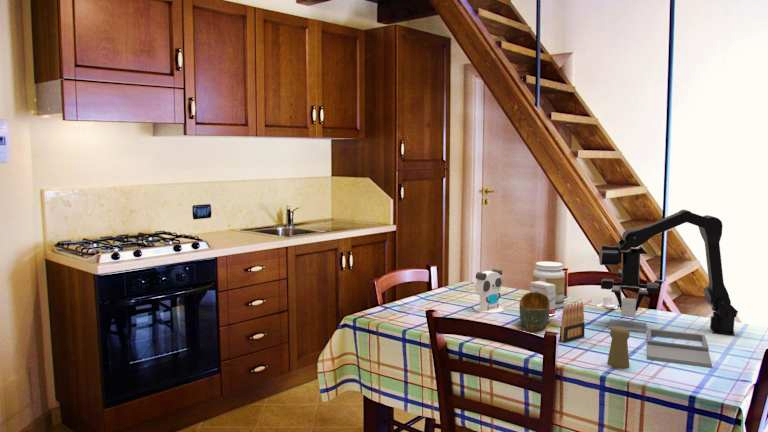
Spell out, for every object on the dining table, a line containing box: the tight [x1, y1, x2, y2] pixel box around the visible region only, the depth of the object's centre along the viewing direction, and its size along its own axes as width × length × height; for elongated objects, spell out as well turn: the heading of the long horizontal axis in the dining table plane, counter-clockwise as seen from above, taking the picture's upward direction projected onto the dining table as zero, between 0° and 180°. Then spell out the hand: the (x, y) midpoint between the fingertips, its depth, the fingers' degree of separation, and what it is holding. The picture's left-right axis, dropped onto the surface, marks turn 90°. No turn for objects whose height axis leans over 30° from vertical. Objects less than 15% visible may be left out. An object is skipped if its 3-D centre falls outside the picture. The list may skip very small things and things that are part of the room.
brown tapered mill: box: [606, 327, 630, 370], centre depth 179 cm, size 6×6×11 cm
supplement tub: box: [532, 261, 566, 310], centre depth 247 cm, size 12×12×17 cm
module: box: [620, 297, 637, 319], centre depth 219 cm, size 4×7×5 cm, turn 157°
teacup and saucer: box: [596, 296, 619, 310], centre depth 247 cm, size 9×8×4 cm
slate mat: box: [608, 318, 647, 334], centre depth 219 cm, size 12×12×1 cm
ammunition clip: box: [559, 301, 586, 344], centre depth 203 cm, size 11×2×12 cm, turn 127°
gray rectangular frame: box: [646, 328, 713, 368], centre depth 194 cm, size 17×28×2 cm, turn 157°
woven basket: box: [519, 291, 550, 332], centre depth 219 cm, size 13×20×10 cm, turn 136°
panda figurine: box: [473, 268, 505, 314], centre depth 240 cm, size 12×11×15 cm
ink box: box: [529, 281, 556, 314], centre depth 234 cm, size 9×5×12 cm, turn 33°
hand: (628, 310), depth 219 cm, fingers closed on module, 4 cm apart
